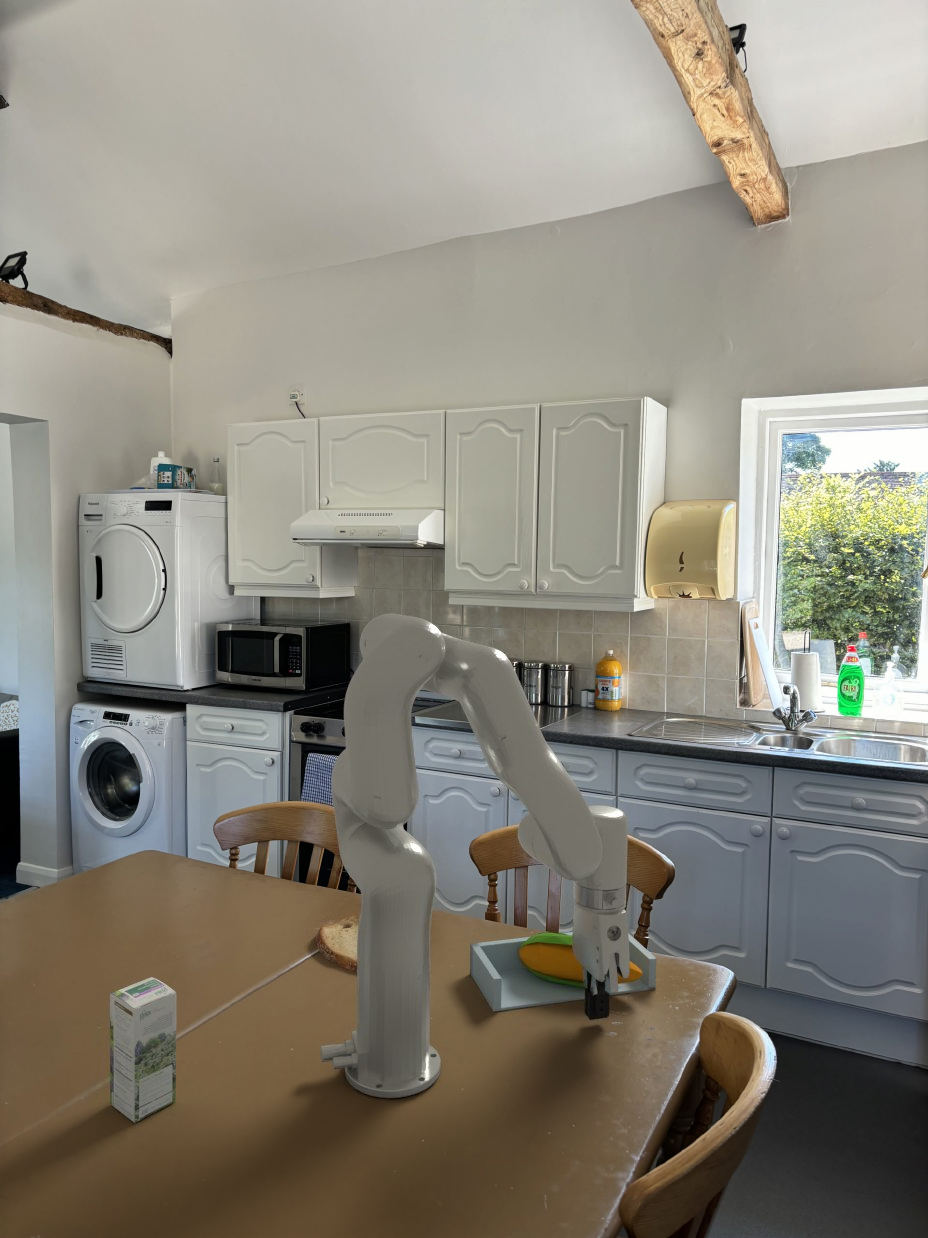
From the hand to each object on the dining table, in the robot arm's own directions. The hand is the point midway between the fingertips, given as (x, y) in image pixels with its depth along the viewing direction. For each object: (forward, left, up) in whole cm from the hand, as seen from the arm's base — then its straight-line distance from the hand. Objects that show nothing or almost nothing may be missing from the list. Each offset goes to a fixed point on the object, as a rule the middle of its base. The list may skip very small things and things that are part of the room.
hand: (596, 1016), depth 126 cm
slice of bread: (-29, +33, -2) cm, 44 cm away
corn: (+2, +12, -1) cm, 12 cm away
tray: (0, +13, -1) cm, 13 cm away
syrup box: (-62, -3, -2) cm, 62 cm away
